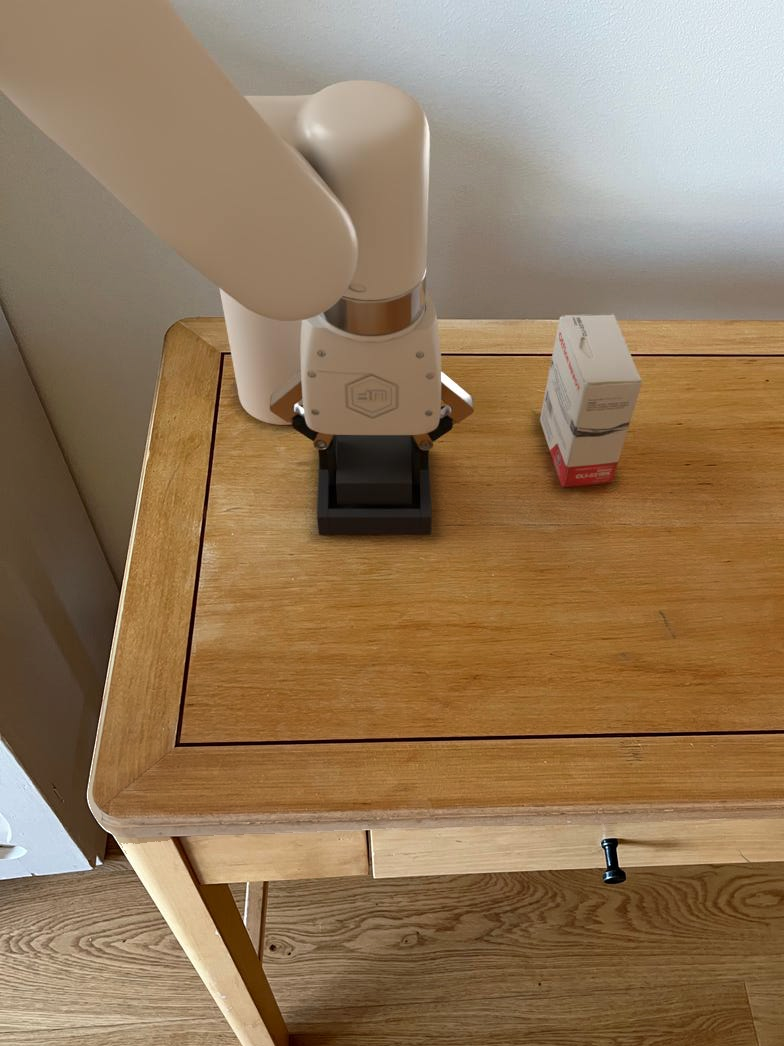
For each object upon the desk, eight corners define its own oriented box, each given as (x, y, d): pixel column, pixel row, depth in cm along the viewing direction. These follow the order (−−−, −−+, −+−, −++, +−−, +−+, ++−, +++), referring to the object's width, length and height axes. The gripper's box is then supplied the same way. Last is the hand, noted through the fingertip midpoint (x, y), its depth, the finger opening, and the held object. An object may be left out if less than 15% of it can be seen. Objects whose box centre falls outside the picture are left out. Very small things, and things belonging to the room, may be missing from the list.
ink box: (614, 483, 84) (644, 380, 74) (560, 489, 83) (583, 385, 74) (589, 414, 89) (614, 308, 79) (538, 419, 88) (556, 312, 78)
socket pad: (318, 535, 79) (316, 517, 77) (321, 452, 84) (319, 433, 82) (430, 535, 80) (431, 517, 78) (426, 453, 85) (427, 434, 83)
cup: (224, 413, 85) (193, 255, 72) (258, 353, 90) (234, 194, 76) (313, 433, 85) (298, 279, 71) (342, 372, 89) (333, 216, 76)
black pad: (337, 505, 78) (336, 483, 76) (338, 450, 81) (337, 428, 79) (411, 504, 79) (412, 483, 76) (409, 450, 82) (410, 428, 80)
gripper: (234, 323, 62) (266, 507, 77) (501, 327, 63) (481, 507, 78) (242, 250, 66) (271, 438, 81) (493, 256, 67) (475, 439, 82)
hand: (374, 470), depth 79 cm, fingers closed on black pad, 6 cm apart
